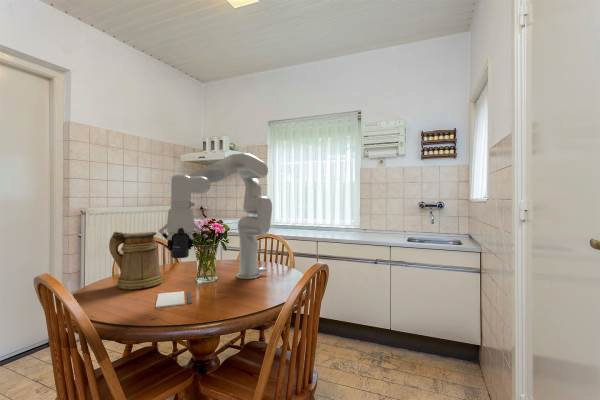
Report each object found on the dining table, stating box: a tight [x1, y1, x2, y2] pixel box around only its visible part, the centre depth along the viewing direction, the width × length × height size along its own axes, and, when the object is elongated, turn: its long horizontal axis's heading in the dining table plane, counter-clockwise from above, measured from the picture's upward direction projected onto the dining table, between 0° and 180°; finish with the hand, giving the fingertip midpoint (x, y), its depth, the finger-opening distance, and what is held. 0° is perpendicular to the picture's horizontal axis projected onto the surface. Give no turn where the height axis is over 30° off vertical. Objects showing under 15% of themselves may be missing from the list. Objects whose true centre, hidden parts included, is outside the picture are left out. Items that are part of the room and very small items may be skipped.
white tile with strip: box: [155, 290, 193, 309], centre depth 119 cm, size 13×16×1 cm
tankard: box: [108, 231, 164, 290], centre depth 139 cm, size 18×24×25 cm
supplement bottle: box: [170, 228, 190, 259], centre depth 120 cm, size 7×7×12 cm
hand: (180, 249), depth 120 cm, fingers closed on supplement bottle, 6 cm apart
